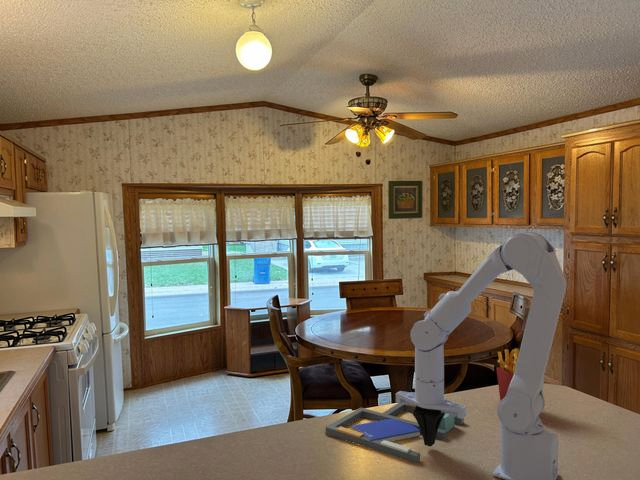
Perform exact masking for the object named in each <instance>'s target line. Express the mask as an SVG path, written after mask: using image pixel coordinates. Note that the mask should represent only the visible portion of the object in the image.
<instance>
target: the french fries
mask: <svg viewBox="0 0 640 480" xmlns="http://www.w3.org/2000/svg"><path fill="white" fill-rule="evenodd" d="M509 351H510V350H509V349H508V348H505V349H504V354H505V355H504V357H505V361H504V359H503V354H502V351H497V356H498V359H497V363H498V364H499V366H498V367H496V376H497V384H498V393H499V402H500V401H501V400H502V399H503V398H505V396H506V395H507V392H508V388H509V385H510V383H511V380H512V378H513V375H514V373H515V369H516V364H517V360H518V356H519V352H520V348H517V347H515V348H514V349H511V351H510V353H509Z"/></svg>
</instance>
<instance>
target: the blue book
mask: <svg viewBox="0 0 640 480" xmlns="http://www.w3.org/2000/svg"><path fill="white" fill-rule="evenodd" d="M397 417H398V418H400V417H399V416H397ZM350 429H351V430H354V431H357V432H360V433H364V434H363V436H365V437H366V438H367V439H368V440H370V441H373V440H380V441H384V440H386V441H389V442H395V441H401V440H405V439H411V438H414V437H415V438H416V437H420V430H419V429H417V428H416V427H414V426H413V425H411V424H407V423H404V422H400V421H397V420H393V419H387V420H381V421H375V420H374V421H370V422H365V423H364V422H363V423H359V424H353V425H352V424H351V427H350Z"/></svg>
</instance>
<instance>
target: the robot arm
mask: <svg viewBox="0 0 640 480" xmlns="http://www.w3.org/2000/svg"><path fill="white" fill-rule="evenodd" d="M513 270H515V271H516V272H517V273H519V274H520V275H522V276H523V278H524V279H525V280H526V281H527V282H528V284H529V285H530V287H531V288H532V289H533V294H532V298H531V302H530V306H529V310H528V316H527V319H526V323H525V328H524V331H523V336H522V340H521V344H520V348H519V356H518V360H517V364H516V369H515V373H514V375H513V378H512V380H511V383H510V385H509V388H508V392H507V395H506V396H505V398H503V399H502V400H501V401H500V400H499V403H498V405H497V408H496V409H497V410H496V411H497V417H498V420H499V421H500V463H499V464H498V465H497V467H496V468H495V469H494V471H493V472H492V476H494V477H496V478H499V479H503V480H557V479H558V477H559V474H560V472H559V439H558V438H559V437H558V434H556V433H554V432H551V431H548V430H547V429H546V428H544V423H543V422H542V419H541V418H540V414H541V413H542V411H544V409H545V407H546V406H545V404H546V402H545V401H546V400H545V397H544V391H543V390H544V385H545V379H544V378H545V373H546V370H547V365H548V361H549V358H550V354H551V349H552V346H553V343H554V339H555V338H554V337H555V334H556V330H557V325H558V321H559V319H560V314H561V310H562V305H563V302H564V299H565V294H566V290H567V284H568V283H567V279H566V277H565V275H564V272H563V269H562V267H561V264H560V262H559V259H558V257H557V254H556V248H555V247H554V246H553V245H552V244H551V243H550V241H548V239H547V238H546V237H544V235H543V234H541V233H538V232H535V231H528V232H524V233H523V232H519V233H518V232H517V233H513V234H511V235H509V236H508V237H507V238H506V239H505V240H504V241H503V243H502V244H500V245H498V246H497V247H496V248H495V249H493V251H492V252H490V253H489V255H487V256H486V258H485V259H484V260H483V261H482V262H481V264H480V265H479V266H478V267H477V268H476V269H475V270H474V272H473V273H471V275H470V276H469V278H468V279H467V280H466V281H465V282H464V283H463V284H462V285H461V287H460V288H459V289H458V290H455V291H454V290H449V291H447V292H446V293H441V294H440V295H439V296H438V302H437V303H436V304H435V305H434V307H433V308H431V310H430V311H428V310H427V311H426V312H424V314H423V316H424V319H423V320H418V321H416V322H414V324H413V326H412V328H411V329H410V332H409V333H410V335H409V336H410V340H411V343H412V344H413V345H414V376H415V377H414V392H411V391H410V392H408V391H402V390H399V391H397V392H396V393H395V403H396V404H398V403H401V402H402V403H406V404H410V405H414V406H416V408H415V410H414V411H413V412H412V415H413V417H414V420H416V423H418V424H419V427H420V429H421V433H422V434H421V436H422V439H423V443H424V446H427V447H430V448H431V447H433V445H435V444H436V439H437V438H436V434H437V431H438V428H439V425H440V423H441V421H442V419H443V417H444V415H445V413H446V414H450V415H454V416H457V418H460V419H463V418H464V419H465V417H467V406H466V405H463V404H459V403H456V402H455V401H452V400H449V399H447V398H445V355H444V352H445V351H444V347H445V346H444V345H445V343H446V342H447V340H448V338H449V335H450V334H451V333H452V332H453V331H454V330H455V329H456V328H458V326H459V325H460V324H461V323H462V322H463V321H464V320H465V319H466V318H467V317H468V316H469V315H470V314H471V313H472V302H473V301H474V300H475V299H476V298H477V297H478V296H479V295H480V294H481V293H482V292H483V291H484V290H485V289H486V288H488V286H489V285H490V284H492V283H493V281H495V280H496V279H497V278H498V277H499V276H500V275H501V274H504V273H507V272H510V271H513Z"/></svg>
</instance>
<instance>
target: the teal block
mask: <svg viewBox="0 0 640 480" xmlns="http://www.w3.org/2000/svg"><path fill="white" fill-rule="evenodd" d="M454 427H455V423H454V415H450V414H446V413H445V415H444V417H443V419H442V421H441V423H440V425H439V428H438V429H442V430H446V431H447V433H448V432H449V431H450V430H451V429H453V428H454ZM451 431H452V430H451Z"/></svg>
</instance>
